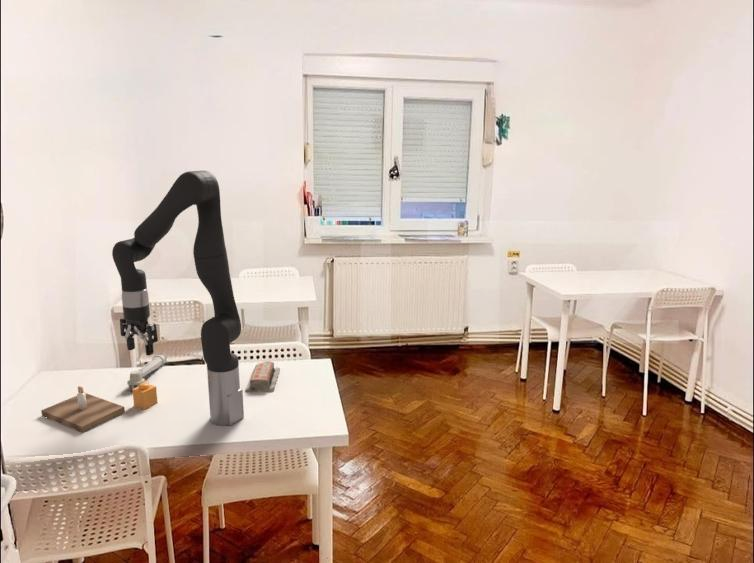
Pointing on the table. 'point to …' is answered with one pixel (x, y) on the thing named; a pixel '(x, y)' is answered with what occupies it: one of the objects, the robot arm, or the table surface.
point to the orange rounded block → (144, 395)
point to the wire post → (81, 399)
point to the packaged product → (263, 377)
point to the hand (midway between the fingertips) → (140, 352)
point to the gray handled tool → (145, 371)
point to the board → (83, 413)
